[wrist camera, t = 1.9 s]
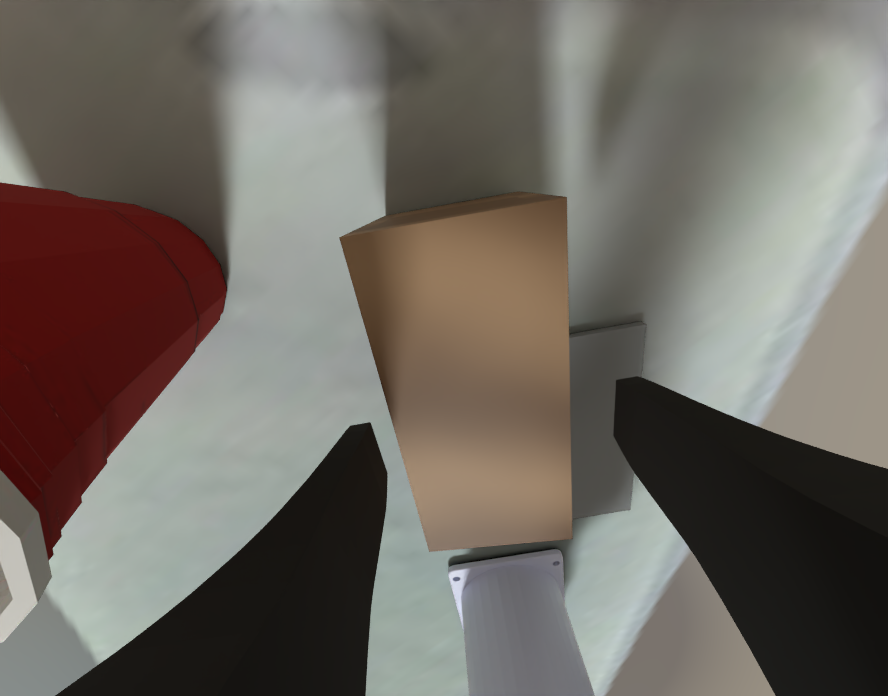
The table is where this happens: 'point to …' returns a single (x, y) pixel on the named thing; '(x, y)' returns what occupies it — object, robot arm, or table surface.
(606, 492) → the felt mat
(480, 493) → the wooden block
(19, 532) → the plastic cup
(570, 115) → the table surface
